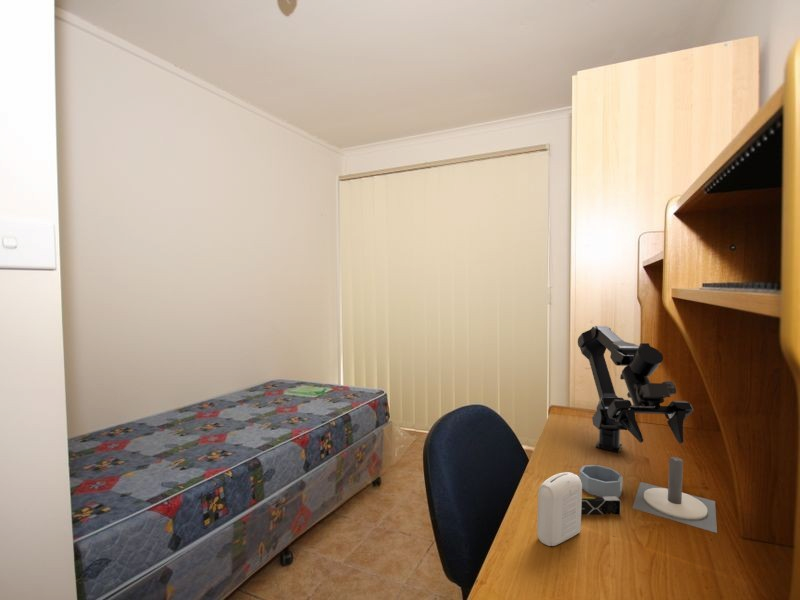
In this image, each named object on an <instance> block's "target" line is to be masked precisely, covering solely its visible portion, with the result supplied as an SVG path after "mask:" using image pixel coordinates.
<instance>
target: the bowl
mask: <svg viewBox="0 0 800 600" xmlns="http://www.w3.org/2000/svg"><path fill="white" fill-rule="evenodd" d="M578 477H579V478H580V480H581V482H582V490H584V491H585V492H586V493H587V494H588V495H589V494H590V495H592V496H595V497H608V496H616V497H617V498H621V495H622V493H623V482H624V481H623V478H624V477H623V475H622V474H621V473H619V472H618V471H616V470H615V469H613V468H612V467H611V468H610V467H606V466H602V465H598V464H589V465H582V467H581V468H580V469H579V476H578Z"/></svg>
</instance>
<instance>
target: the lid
mask: <svg viewBox="0 0 800 600" xmlns="http://www.w3.org/2000/svg"><path fill="white" fill-rule="evenodd" d="M668 458H669V459H668V482H667V483H668V485H667V487H668V488H666V487H662V488H651V489H647V490H646V491H645V492H644V500H645V502H646V503H647V504H648V505H649V506H651V507H652V508H654V509H656V510H657V511H659V512H662V513H664V514H667V515H669V516H673V517H676V518H681V519H687V520H699V519H703V518H705V517H706V516H707V507H706V506H705V505H704V504H703V503H702V502H701V501H700V500H698V499H696V498H695V497H693V496H694V495H693V496H690V495H691V494H689V495H688V493H685V492H683V474H684V470H683V469H684V460H683V459H682V458H680V457H677V456H670V457H668Z"/></svg>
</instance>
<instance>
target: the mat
mask: <svg viewBox="0 0 800 600" xmlns="http://www.w3.org/2000/svg"><path fill="white" fill-rule="evenodd" d="M651 488H663V486H662V487H661V486H658V485H654V484H650V483H646V482H642V481H639V484H638V488H637V492H636V494H635V497H634V502H633V504H632V509H633V510H636V511H640V512H642V513H643V512H645V513H648V514H650V515H652V516H653V515H654V516H657V517H661V518H665V519H668V520H671V521H673V522H678V523H681V524H685V525H688V526H691V527H694V528H697V529H702V530H705V531H709V532H711V533H716V534H718V528H717V527H718V526H717V525H718V524H717V513H716V512H717V511H716V508H717V507H716V501H715V500H712V499H709V498H705V497H700V496H696V495H693V494H688V493H687V494H688V495H690V496H693V497H695V498H696V499H698V500H700V501H701V502H702V503H703V504H704V505H705V506H706V507H707V516H706V517H705V518H703V519H699V520H687V519H681V518H676V517H673V516H669V515H667V514H664V513H662V512H659V511H657V510H656V509H654V508H652V507H651V506H649V505H648V504H647V503H646V502H645V500H644V492H645V491H646V490H647V489H651Z"/></svg>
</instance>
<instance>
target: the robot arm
mask: <svg viewBox="0 0 800 600" xmlns="http://www.w3.org/2000/svg"><path fill="white" fill-rule="evenodd" d="M577 345H578V348H579V349H580V353H581V355H583V356H584V357H585V358H586V359H587V360H588V362H589V366H590V369H591V372H592V376H593V380H594V383H595V384H594V385H595V387H596V391H597V394H598V398H599V400H598V403H597V405H596V411H595V413H594V414H593V416H592V417H591V418H592V419H591V420H592V425H593V426H594V427H595V428H597V429H598V441H597V443H596V444H595V448H597V449H602V450H606V451H610V452H614V453H620V452H621V450H622V448H623V444H621V443H620V441H621V430H622V431H628V432H629V433H630V434H631V435H632V436H633V437H634V438H635V439H636V440H637V441H638V442H639V443H641V444H642V443H643V442H644V437H643V434H642V431H641V430H640V427H639V424H638V422H637V420H636V414H647V415H648V414H650V415H653V414H655V415H664V416H665V418H666V419H668V420H667V421H666V422H667V425H668V426H669V429H670V430H671V432H672V434H673V436H674V438H675V439H676V441H677V442H678V444H680V445H682V444H683V443H684V421H685V420H686V419H687V418H688V417H689V416H690V415H691V414H692V413H693V412H695V410H694V408H693V405H692V404H691V402H688V401H686V400H672V401H671V402H669V404H668V405H661V404H663V403H664V402H665V399H666V398H671V396H673V395H676V394H677V387H676V386H675V384H674V381H671V380H665V381H663V382H661V383H658V382H657V383H656V382H651V380H650V378H649V376H651V375H653V374H654V373H655V372H656V370H657V369H658V367H659V366H660V365H661V363H662V362H663V360H664V356H663V353H662V352H661V351H659V349H657V348H655V347H653V346H651V345H650V343H648V342H641V343H639V345H637V344H636V343H631V342H627V341H624V340H623V339H622V338H621V337H620V336H618V335H617V334H616V333H615V332H614V331H612V328H611V327H610V326H606V325H595V326H592V327H591V328H590V329H588V330H586V331H583V332H581V334H580V335H579V336H578V338H577ZM607 350H608V352H609V353H610V359H611V361H612V363H614V365H615V366H619V367H624V366H625V367H624V368H623V369H622V371H621V374H620V377H619V378H620V380H624V383H625V385H626V388H627V391H628V393H627V394H626V396H627V398H630V399H631V400H629V399H625V398H624V397H619V396H618V395H617V394H616V391H615V387H614V385H613V382H612V378H611V375H610V371H609V368H608V364H607V361H606V358H605V353H606V351H607ZM631 401H632V402H631ZM632 403H633V404H632Z"/></svg>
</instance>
